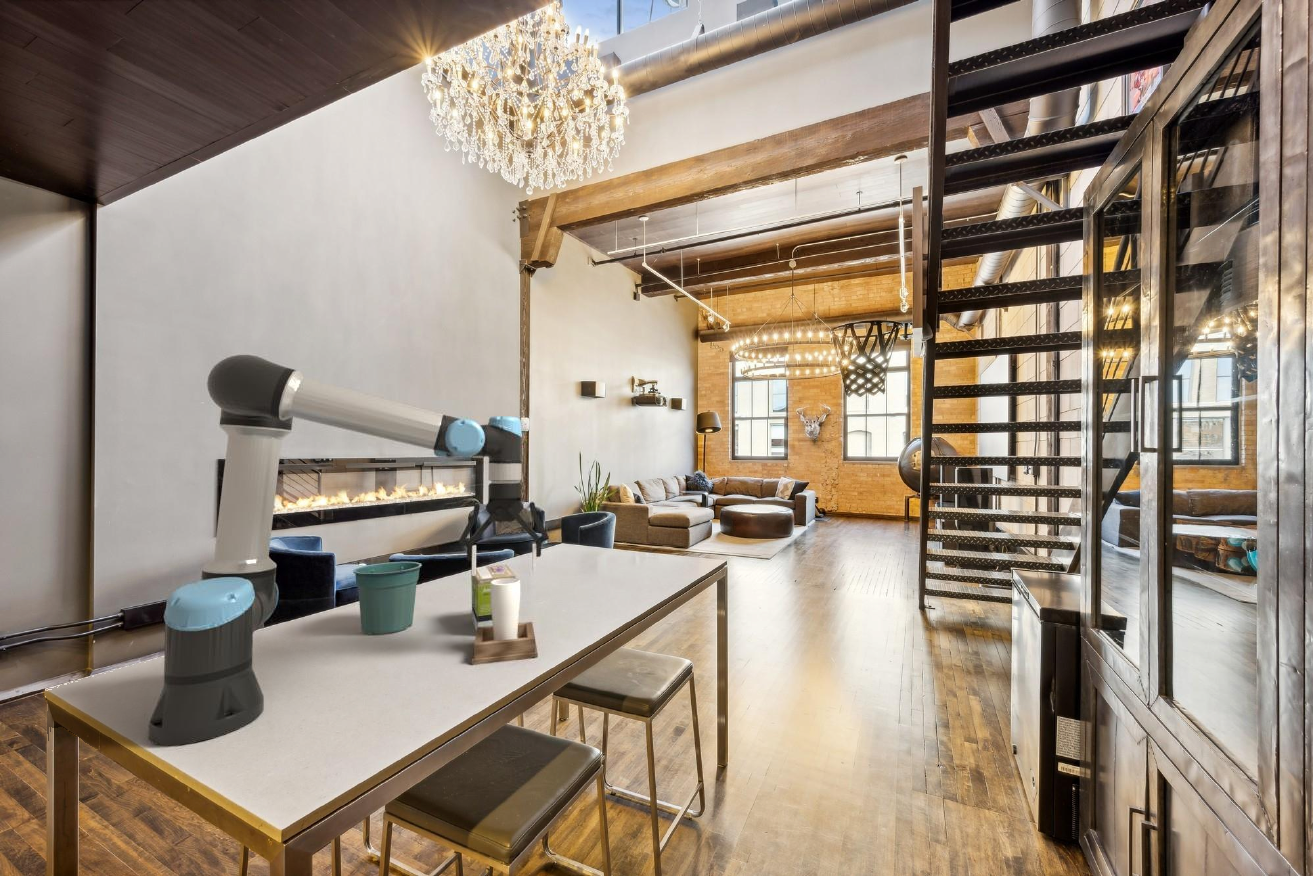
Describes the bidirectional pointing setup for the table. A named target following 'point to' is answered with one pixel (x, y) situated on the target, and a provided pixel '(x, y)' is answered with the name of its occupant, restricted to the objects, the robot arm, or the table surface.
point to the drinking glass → (505, 608)
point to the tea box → (485, 592)
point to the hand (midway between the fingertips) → (504, 572)
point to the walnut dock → (504, 645)
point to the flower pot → (387, 596)
